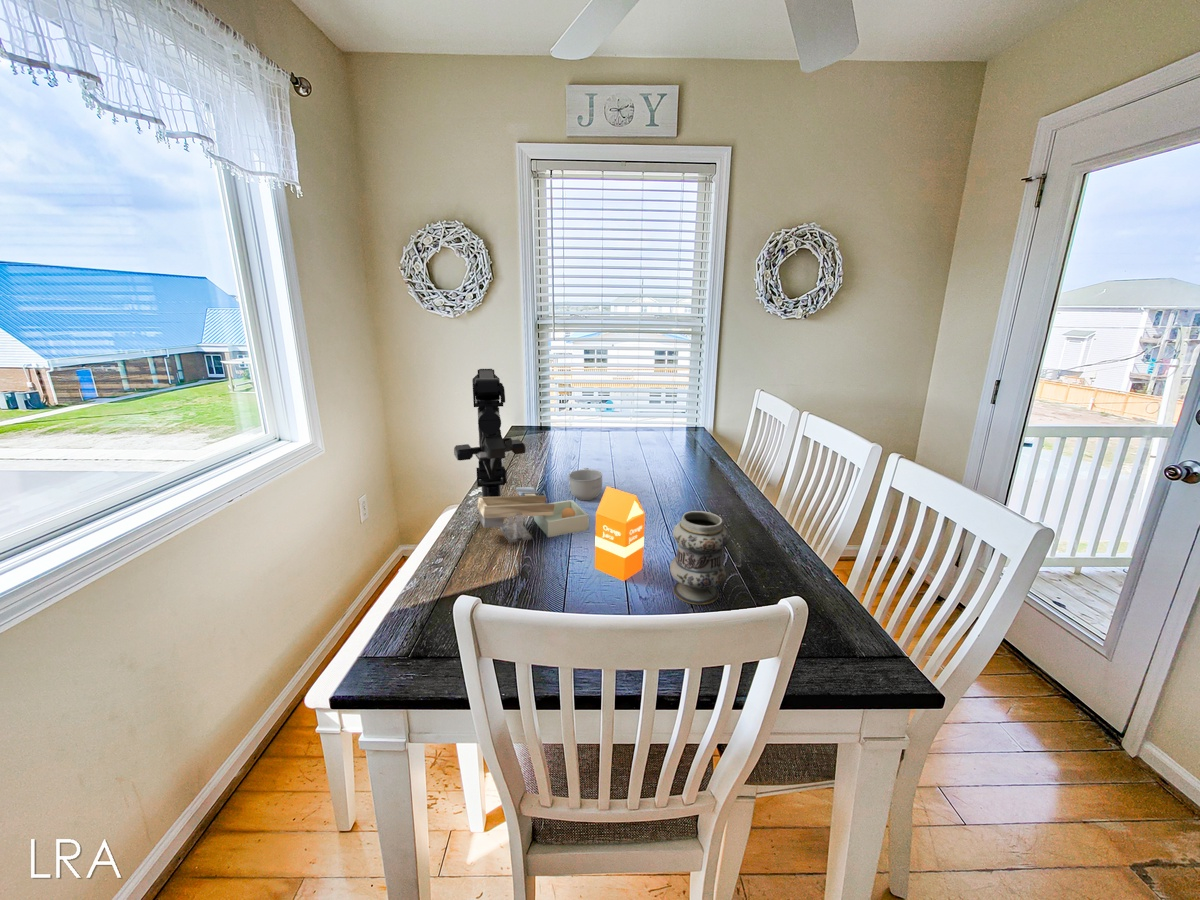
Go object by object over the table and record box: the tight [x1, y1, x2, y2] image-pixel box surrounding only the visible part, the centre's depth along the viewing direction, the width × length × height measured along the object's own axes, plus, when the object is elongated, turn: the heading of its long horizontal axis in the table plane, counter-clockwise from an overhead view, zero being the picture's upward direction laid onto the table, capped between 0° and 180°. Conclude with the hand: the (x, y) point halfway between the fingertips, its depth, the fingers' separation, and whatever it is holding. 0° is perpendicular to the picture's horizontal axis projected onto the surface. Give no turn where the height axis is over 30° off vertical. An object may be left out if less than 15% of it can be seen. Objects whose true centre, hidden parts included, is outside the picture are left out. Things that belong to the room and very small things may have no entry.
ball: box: [561, 508, 575, 518], centre depth 142 cm, size 4×4×4 cm
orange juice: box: [594, 486, 646, 582], centre depth 116 cm, size 8×9×20 cm
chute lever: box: [477, 486, 554, 529], centre depth 139 cm, size 17×19×6 cm
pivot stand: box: [498, 513, 532, 544], centre depth 135 cm, size 10×6×8 cm, turn 26°
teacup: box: [568, 467, 603, 501], centre depth 163 cm, size 14×11×8 cm
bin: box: [533, 499, 590, 538], centre depth 141 cm, size 12×12×4 cm
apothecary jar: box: [669, 510, 730, 606], centre depth 108 cm, size 12×12×18 cm
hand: (491, 478), depth 140 cm, fingers closed
